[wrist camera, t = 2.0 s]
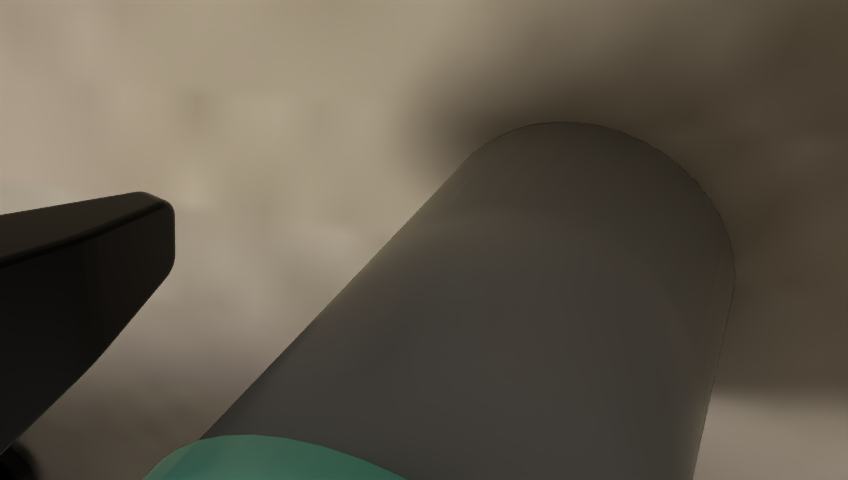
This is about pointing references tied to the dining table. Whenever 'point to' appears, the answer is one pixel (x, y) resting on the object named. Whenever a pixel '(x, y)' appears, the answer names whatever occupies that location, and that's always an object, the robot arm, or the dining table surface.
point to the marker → (505, 332)
